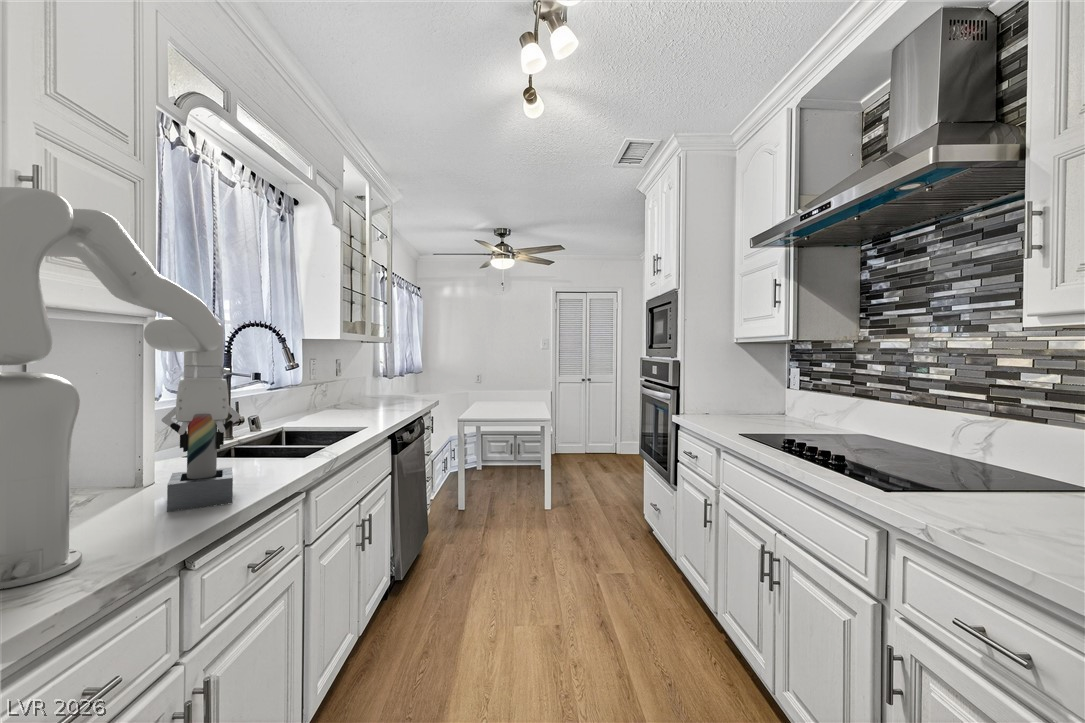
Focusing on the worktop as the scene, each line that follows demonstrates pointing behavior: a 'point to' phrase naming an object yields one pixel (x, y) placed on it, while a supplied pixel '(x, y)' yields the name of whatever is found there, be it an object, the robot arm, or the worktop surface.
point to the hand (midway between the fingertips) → (202, 448)
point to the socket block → (199, 490)
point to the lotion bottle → (202, 447)
